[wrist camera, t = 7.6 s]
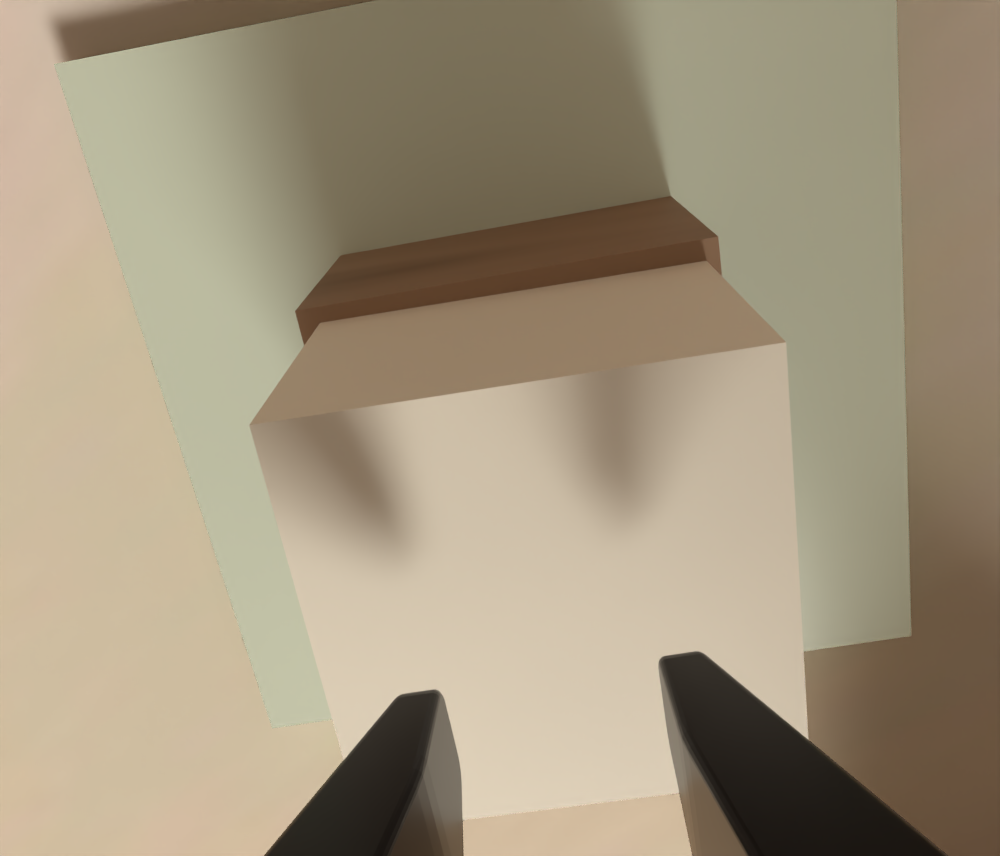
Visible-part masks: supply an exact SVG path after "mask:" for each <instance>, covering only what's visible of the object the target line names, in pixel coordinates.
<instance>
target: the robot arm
mask: <svg viewBox="0 0 1000 856" xmlns="http://www.w3.org/2000/svg"><path fill="white" fill-rule="evenodd" d="M658 668H659V677H660V684H661V691H662V698H663V705H664V713H665V720H666V727H667V733H668V739H669V745H670V750H671V755H672V760H673V765H674V770H675V774H676V779H677V784H678V789H679V794H680V798H681V803H682V808H683V813H684V818H685V822H686V827H687V832H688V837H689V842H690V846H691V851H692V856H948V855H947V854H946V853H944V852H943V851H942V850H941V849H939V848H938V847H937V846H936V845H935V844H933V843H932V842H931V841H930V840H929V839H927V838H926V837H925V836H924V835H923V834H921V833H920V832H919V831H918V830H917V829H915V828H914V827H913V826H912V825H911V824H909V823H908V822H907V821H906V820H905V819H903V818H902V817H901V816H900V815H898V814H897V813H896V812H895V811H894V810H892V809H891V808H890V807H889V806H888V805H886V804H885V803H884V802H883V801H882V800H880V799H879V798H878V797H877V796H876V795H874V794H873V793H872V792H871V791H870V790H868V789H867V788H866V787H865V786H864V785H862V784H861V783H860V782H859V781H857V780H856V779H855V778H854V777H853V776H851V775H850V774H849V773H848V772H847V771H845V770H844V769H843V768H842V767H841V766H839V765H838V764H837V763H836V762H835V761H833V760H832V759H831V758H830V757H829V756H827V755H826V754H825V753H824V752H823V751H821V750H820V749H819V748H818V747H816V746H815V745H814V744H813V743H812V742H810V741H809V740H808V739H807V738H806V737H804V736H803V735H802V734H801V733H800V732H798V731H797V730H796V729H795V728H794V727H792V726H791V725H790V724H789V723H788V722H786V721H785V720H784V719H783V718H782V717H780V716H779V715H778V714H777V713H775V712H774V711H773V710H772V709H771V708H769V707H768V706H767V705H766V704H765V703H763V702H762V701H761V700H760V699H759V698H757V697H756V696H755V695H754V694H753V693H751V692H750V691H749V690H748V689H747V688H745V687H744V686H743V685H742V684H741V683H739V682H738V681H737V680H736V679H734V678H733V677H732V676H731V675H730V674H728V673H727V672H726V671H725V670H724V669H722V668H721V667H720V666H719V665H718V664H716V663H715V662H714V661H713V660H712V659H710V658H709V657H708V656H707V655H706V654H704V653H702V652H699V651H694V652H687V653H680V654H673V655H667V656H663V657H661V658H660V660H659V662H658ZM264 856H463V817H462V781H461V770H460V763H459V757H458V753H457V749H456V745H455V740H454V736H453V732H452V728H451V724H450V720H449V716H448V712H447V707H446V703H445V700H444V697H443V695H442V694H441V693H440V691H438V690H436V689H432V690H425V691H418V692H411V693H405V694H401V695H399V696H397V697H396V698H395V699H394V700H393V701H392V703H391V704H390V705H389V706H388V707H387V709H386V710H385V711H384V712H383V713H382V715H381V716H380V717H379V718H378V719H377V721H376V722H375V723H374V724H373V725H372V727H371V728H370V729H369V730H368V731H367V733H366V734H365V735H364V736H363V737H362V739H361V740H360V741H359V742H358V743H357V745H356V746H355V747H354V748H353V749H352V751H351V752H350V753H349V754H348V755H347V757H346V758H345V759H344V760H343V761H342V763H341V764H340V765H339V766H338V767H337V769H336V770H335V771H334V772H333V773H332V775H331V776H330V777H329V778H328V779H327V781H326V782H325V783H324V784H323V785H322V787H321V788H320V789H319V790H318V791H317V793H316V794H315V795H314V796H313V797H312V799H311V800H310V801H309V802H308V803H307V805H306V806H305V807H304V808H303V809H302V811H301V812H300V813H299V814H298V815H297V817H296V818H295V819H294V820H293V821H292V823H291V824H290V825H289V826H288V827H287V829H286V830H285V831H284V832H283V833H282V835H281V836H280V837H279V838H278V839H277V841H276V842H275V843H274V844H273V845H272V847H271V848H270V849H269V850H268V851H267V853H266V854H265V855H264Z"/></svg>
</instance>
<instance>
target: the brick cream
mask: <svg viewBox="0 0 1000 856" xmlns="http://www.w3.org/2000/svg"><path fill="white" fill-rule="evenodd" d="M249 426H250V430H251V434H252V437H253V441H254V444H255V448H256V451H257V455H258V458H259V462H260V465H261V469H262V473H263V476H264V480H265V483H266V487H267V490H268V494H269V497H270V501H271V505H272V508H273V512H274V515H275V519H276V522H277V526H278V529H279V533H280V536H281V540H282V544H283V547H284V551H285V554H286V558H287V561H288V565H289V568H290V572H291V576H292V579H293V583H294V586H295V590H296V593H297V597H298V600H299V604H300V607H301V611H302V615H303V618H304V622H305V625H306V629H307V632H308V636H309V639H310V643H311V647H312V650H313V654H314V657H315V661H316V664H317V668H318V671H319V675H320V678H321V682H322V686H323V689H324V693H325V696H326V700H327V703H328V707H329V710H330V714H331V718H332V721H333V725H334V728H335V732H336V735H337V739H338V742H339V746H340V749H341V753H342V757H343V760H344V759H345V758H346V757H347V755H348V754H349V753H350V752H351V751H352V749H353V748H354V747H355V746H356V745H357V743H358V742H359V741H360V740H361V739H362V737H363V736H364V735H365V734H366V733H367V731H368V730H369V729H370V728H371V727H372V725H373V724H374V723H375V722H376V721H377V719H378V718H379V717H380V716H381V715H382V713H383V712H384V711H385V710H386V709H387V707H388V706H389V705H390V704H391V703H392V701H393V700H394V699H395V698H396V697H397V696H399V695H401V694H405V693H411V692H418V691H425V690H432V689H436V690H438V691H440V693H441V694H442V695H443V697H444V700H445V703H446V707H447V712H448V716H449V720H450V724H451V728H452V732H453V736H454V740H455V745H456V749H457V753H458V757H459V763H460V770H461V781H462V817H463V820H468V819H476V818H484V817H492V816H500V815H508V814H516V813H524V812H532V811H540V810H549V809H557V808H565V807H573V806H581V805H589V804H597V803H605V802H613V801H621V800H629V799H637V798H645V797H653V796H661V795H669V794H677V793H679V789H678V784H677V779H676V774H675V770H674V765H673V760H672V755H671V750H670V745H669V739H668V733H667V727H666V720H665V713H664V705H663V698H662V691H661V684H660V677H659V668H658V662H659V660H660V658H661V657H663V656H667V655H673V654H680V653H687V652H694V651H699V652H702V653H704V654H706V655H707V656H708V657H709V658H710V659H712V660H713V661H714V662H715V663H716V664H718V665H719V666H720V667H721V668H722V669H724V670H725V671H726V672H727V673H728V674H730V675H731V676H732V677H733V678H734V679H736V680H737V681H738V682H739V683H741V684H742V685H743V686H744V687H745V688H747V689H748V690H749V691H750V692H751V693H753V694H754V695H755V696H756V697H757V698H759V699H760V700H761V701H762V702H763V703H765V704H766V705H767V706H768V707H769V708H771V709H772V710H773V711H774V712H775V713H777V714H778V715H779V716H780V717H782V718H783V719H784V720H785V721H786V722H788V723H789V724H790V725H791V726H792V727H794V728H795V729H796V730H797V731H798V732H800V733H801V734H802V735H803V736H804V737H806V738H807V739H808V722H807V704H806V686H805V668H804V650H803V632H802V614H801V597H800V579H799V561H798V543H797V525H796V507H795V489H794V472H793V454H792V436H791V418H790V400H789V382H788V364H787V347H786V341H785V340H784V339H783V338H782V337H781V336H780V335H779V334H778V333H777V332H776V331H775V330H774V329H773V328H772V327H771V326H770V325H769V324H768V323H767V322H766V321H765V320H764V319H763V318H762V317H761V316H760V315H759V314H758V313H757V312H756V311H755V310H754V309H753V308H752V307H751V306H750V305H749V304H748V303H747V302H746V301H745V300H744V298H743V297H742V296H741V295H740V294H739V293H738V292H737V291H736V290H735V289H734V288H733V287H732V286H731V285H730V284H729V283H728V282H727V281H726V280H725V279H724V278H723V277H722V276H721V275H720V274H719V273H718V272H717V271H716V270H715V269H714V268H713V267H712V266H711V265H710V264H709V263H708V262H707V261H701V262H695V263H689V264H682V265H676V266H670V267H664V268H658V269H651V270H645V271H639V272H633V273H626V274H620V275H614V276H608V277H602V278H595V279H589V280H583V281H577V282H570V283H564V284H558V285H552V286H546V287H539V288H533V289H527V290H521V291H515V292H508V293H502V294H496V295H490V296H483V297H477V298H471V299H465V300H459V301H452V302H446V303H440V304H434V305H427V306H421V307H415V308H409V309H403V310H396V311H390V312H384V313H378V314H372V315H365V316H359V317H353V318H347V319H340V320H334V321H328V322H322V323H320V324H319V325H318V326H317V328H316V329H315V331H314V332H313V334H312V335H311V337H310V338H309V339H308V341H307V342H306V344H305V345H304V347H303V348H302V350H301V351H300V352H299V354H298V355H297V357H296V358H295V360H294V361H293V363H292V364H291V365H290V367H289V368H288V370H287V371H286V373H285V374H284V376H283V377H282V378H281V380H280V381H279V383H278V384H277V386H276V387H275V389H274V390H273V391H272V393H271V394H270V396H269V397H268V399H267V400H266V402H265V403H264V404H263V406H262V407H261V409H260V410H259V412H258V413H257V415H256V416H255V417H254V419H253V420H252V422H251V423H250V425H249Z"/></svg>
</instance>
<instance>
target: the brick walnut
mask: <svg viewBox="0 0 1000 856" xmlns="http://www.w3.org/2000/svg"><path fill="white" fill-rule="evenodd" d="M701 261H707V262H708V263H709V264H710V265H711V266H712V267H713V268H714V269H715V270H716V271H717V272H718V273H719V274H720V275H721V276H722V270H721V260H720V249H719V239H718V236H717V235H716V234H715V233H714V232H712V231H711V230H710V229H709V228H708V227H707V226H705V225H704V224H703V223H702V222H701V221H700V220H698V219H697V218H696V217H695V216H694V215H693V214H691V213H690V212H689V211H688V210H687V209H686V208H684V207H683V206H682V205H681V204H680V203H678V202H677V201H676V200H675V199H674V198H673V197H671V196H668V197H663V198H657V199H651V200H646V201H640V202H635V203H629V204H624V205H618V206H612V207H607V208H601V209H596V210H590V211H585V212H579V213H573V214H568V215H562V216H557V217H551V218H546V219H540V220H535V221H529V222H523V223H518V224H512V225H507V226H501V227H496V228H490V229H484V230H479V231H473V232H468V233H462V234H457V235H451V236H445V237H440V238H434V239H429V240H423V241H418V242H412V243H407V244H401V245H395V246H390V247H384V248H379V249H373V250H368V251H362V252H356V253H351V254H345V255H341V256H340V257H339V258H338V259H337V260H336V262H335V263H334V264H333V265H332V266H331V268H330V269H329V270H328V271H327V273H326V274H325V275H324V276H323V277H322V279H321V280H320V281H319V282H318V284H317V285H316V286H315V287H314V288H313V290H312V291H311V292H310V293H309V294H308V296H307V297H306V298H305V299H304V301H303V302H302V303H301V304H300V305H299V307H298V308H297V309H296V310H295V313H296V317H297V321H298V325H299V328H300V332H301V336H302V340H303V343H304V345H305V344H306V342H307V341H308V339H309V338H310V337H311V335H312V334H313V332H314V331H315V329H316V328H317V326H318V325H319V324H320V323H322V322H328V321H334V320H340V319H347V318H353V317H359V316H365V315H372V314H378V313H384V312H390V311H396V310H403V309H409V308H415V307H421V306H427V305H434V304H440V303H446V302H452V301H459V300H465V299H471V298H477V297H483V296H490V295H496V294H502V293H508V292H515V291H521V290H527V289H533V288H539V287H546V286H552V285H558V284H564V283H570V282H577V281H583V280H589V279H595V278H602V277H608V276H614V275H620V274H626V273H633V272H639V271H645V270H651V269H658V268H664V267H670V266H676V265H682V264H689V263H695V262H701Z"/></svg>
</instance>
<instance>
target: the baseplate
mask: <svg viewBox="0 0 1000 856" xmlns="http://www.w3.org/2000/svg"><path fill="white" fill-rule="evenodd" d="M54 66H55V69H56V72H57V75H58V78H59V81H60V84H61V87H62V90H63V93H64V96H65V99H66V102H67V105H68V108H69V111H70V114H71V117H72V120H73V123H74V126H75V129H76V133H77V136H78V139H79V142H80V145H81V148H82V151H83V154H84V157H85V160H86V163H87V166H88V169H89V172H90V175H91V178H92V181H93V184H94V187H95V190H96V193H97V196H98V199H99V203H100V206H101V209H102V212H103V215H104V218H105V221H106V224H107V227H108V230H109V233H110V236H111V239H112V242H113V245H114V248H115V251H116V254H117V257H118V260H119V263H120V266H121V269H122V273H123V276H124V279H125V282H126V285H127V288H128V291H129V294H130V297H131V300H132V303H133V306H134V309H135V312H136V315H137V318H138V321H139V324H140V327H141V330H142V333H143V336H144V339H145V342H146V346H147V349H148V352H149V355H150V358H151V361H152V364H153V367H154V370H155V373H156V376H157V379H158V382H159V385H160V388H161V391H162V394H163V397H164V400H165V403H166V406H167V409H168V412H169V416H170V419H171V422H172V425H173V428H174V431H175V434H176V437H177V440H178V443H179V446H180V449H181V452H182V455H183V458H184V461H185V464H186V467H187V470H188V473H189V476H190V479H191V482H192V486H193V489H194V492H195V495H196V498H197V501H198V504H199V507H200V510H201V513H202V516H203V519H204V522H205V525H206V528H207V531H208V534H209V537H210V540H211V543H212V546H213V549H214V552H215V556H216V559H217V562H218V565H219V568H220V571H221V574H222V577H223V580H224V583H225V586H226V589H227V592H228V595H229V598H230V601H231V604H232V607H233V610H234V613H235V616H236V619H237V622H238V626H239V629H240V632H241V635H242V638H243V641H244V644H245V647H246V650H247V653H248V656H249V659H250V662H251V665H252V668H253V671H254V674H255V677H256V680H257V683H258V686H259V689H260V692H261V696H262V699H263V702H264V705H265V708H266V711H267V714H268V717H269V720H270V723H271V726H272V728H279V727H286V726H293V725H300V724H307V723H314V722H321V721H328V720H332V718H331V714H330V710H329V707H328V703H327V700H326V696H325V693H324V689H323V686H322V682H321V678H320V675H319V671H318V668H317V664H316V661H315V657H314V654H313V650H312V647H311V643H310V639H309V636H308V632H307V629H306V625H305V622H304V618H303V615H302V611H301V607H300V604H299V600H298V597H297V593H296V590H295V586H294V583H293V579H292V576H291V572H290V568H289V565H288V561H287V558H286V554H285V551H284V547H283V544H282V540H281V536H280V533H279V529H278V526H277V522H276V519H275V515H274V512H273V508H272V505H271V501H270V497H269V494H268V490H267V487H266V483H265V480H264V476H263V473H262V469H261V465H260V462H259V458H258V455H257V451H256V448H255V444H254V441H253V437H252V434H251V430H250V426H249V425H250V423H251V422H252V420H253V419H254V417H255V416H256V415H257V413H258V412H259V410H260V409H261V407H262V406H263V404H264V403H265V402H266V400H267V399H268V397H269V396H270V394H271V393H272V391H273V390H274V389H275V387H276V386H277V384H278V383H279V381H280V380H281V378H282V377H283V376H284V374H285V373H286V371H287V370H288V368H289V367H290V365H291V364H292V363H293V361H294V360H295V358H296V357H297V355H298V354H299V352H300V351H301V350H302V348H303V347H304V343H303V340H302V336H301V332H300V328H299V325H298V321H297V317H296V313H295V310H296V309H297V308H298V307H299V305H300V304H301V303H302V302H303V301H304V299H305V298H306V297H307V296H308V294H309V293H310V292H311V291H312V290H313V288H314V287H315V286H316V285H317V284H318V282H319V281H320V280H321V279H322V277H323V276H324V275H325V274H326V273H327V271H328V270H329V269H330V268H331V266H332V265H333V264H334V263H335V262H336V260H337V259H338V258H339V257H340V256H341V255H345V254H351V253H356V252H362V251H368V250H373V249H379V248H384V247H390V246H395V245H401V244H407V243H412V242H418V241H423V240H429V239H434V238H440V237H445V236H451V235H457V234H462V233H468V232H473V231H479V230H484V229H490V228H496V227H501V226H507V225H512V224H518V223H523V222H529V221H535V220H540V219H546V218H551V217H557V216H562V215H568V214H573V213H579V212H585V211H590V210H596V209H601V208H607V207H612V206H618V205H624V204H629V203H635V202H640V201H646V200H651V199H657V198H663V197H668V196H671V197H673V198H674V199H675V200H676V201H677V202H678V203H680V204H681V205H682V206H683V207H684V208H686V209H687V210H688V211H689V212H690V213H691V214H693V215H694V216H695V217H696V218H697V219H698V220H700V221H701V222H702V223H703V224H704V225H705V226H707V227H708V228H709V229H710V230H711V231H712V232H714V233H715V234H716V235H717V236H718V239H719V249H720V260H721V270H722V277H723V278H724V279H725V280H726V281H727V282H728V283H729V284H730V285H731V286H732V287H733V288H734V289H735V290H736V291H737V292H738V293H739V294H740V295H741V296H742V297H743V298H744V300H745V301H746V302H747V303H748V304H749V305H750V306H751V307H752V308H753V309H754V310H755V311H756V312H757V313H758V314H759V315H760V316H761V317H762V318H763V319H764V320H765V321H766V322H767V323H768V324H769V325H770V326H771V327H772V328H773V329H774V330H775V331H776V332H777V333H778V334H779V335H780V336H781V337H782V338H783V339H784V340H785V341H786V347H787V364H788V382H789V400H790V418H791V436H792V454H793V472H794V489H795V507H796V525H797V543H798V561H799V579H800V597H801V614H802V632H803V650H804V652H805V651H812V650H819V649H825V648H832V647H839V646H846V645H853V644H860V643H867V642H874V641H881V640H888V639H895V638H902V637H908V636H911V597H910V553H909V510H908V466H907V423H906V379H905V335H904V292H903V248H902V205H901V161H900V118H899V74H898V31H897V0H375V1H370V2H364V3H359V4H354V5H349V6H344V7H339V8H334V9H329V10H324V11H319V12H314V13H309V14H304V15H299V16H294V17H289V18H284V19H279V20H274V21H269V22H264V23H259V24H254V25H249V26H244V27H239V28H233V29H228V30H223V31H218V32H213V33H208V34H203V35H198V36H193V37H188V38H183V39H178V40H173V41H168V42H163V43H158V44H153V45H148V46H143V47H138V48H133V49H128V50H123V51H118V52H113V53H108V54H103V55H97V56H92V57H87V58H82V59H77V60H72V61H67V62H62V63H57V64H54Z"/></svg>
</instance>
